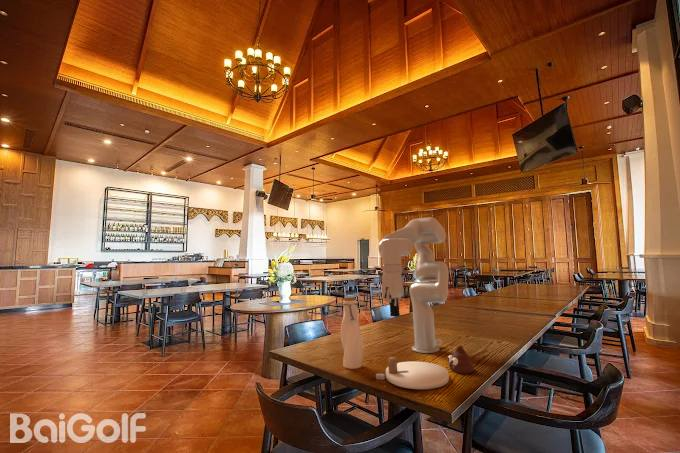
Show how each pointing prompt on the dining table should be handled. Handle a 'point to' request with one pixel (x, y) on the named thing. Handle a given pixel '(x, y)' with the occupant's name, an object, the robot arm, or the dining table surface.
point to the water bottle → (351, 334)
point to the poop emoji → (460, 361)
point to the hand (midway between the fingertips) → (395, 316)
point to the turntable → (416, 374)
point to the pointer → (380, 376)
